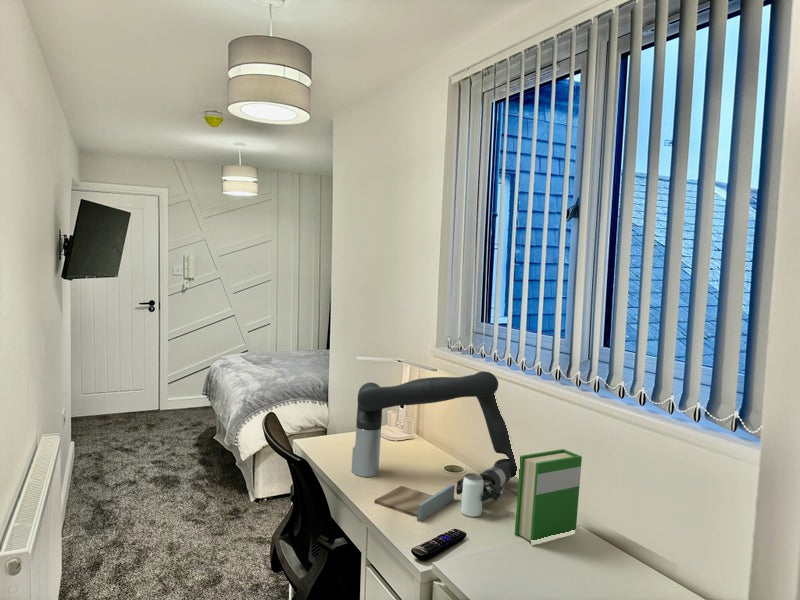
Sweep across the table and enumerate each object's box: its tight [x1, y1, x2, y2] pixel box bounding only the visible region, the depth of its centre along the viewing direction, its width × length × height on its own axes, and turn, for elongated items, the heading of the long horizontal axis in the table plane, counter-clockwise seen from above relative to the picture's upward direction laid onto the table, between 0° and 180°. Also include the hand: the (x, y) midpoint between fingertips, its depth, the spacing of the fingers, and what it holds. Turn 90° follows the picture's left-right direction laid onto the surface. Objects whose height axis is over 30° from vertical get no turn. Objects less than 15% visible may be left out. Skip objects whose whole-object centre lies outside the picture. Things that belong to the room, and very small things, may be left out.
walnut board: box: [374, 485, 434, 518], centre depth 192 cm, size 16×16×1 cm
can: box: [461, 472, 484, 518], centre depth 186 cm, size 6×6×12 cm
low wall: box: [416, 483, 456, 522], centre depth 187 cm, size 1×22×5 cm, turn 147°
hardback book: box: [514, 448, 583, 541], centre depth 173 cm, size 18×7×24 cm, turn 121°
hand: (469, 495), depth 184 cm, fingers open, 8 cm apart
